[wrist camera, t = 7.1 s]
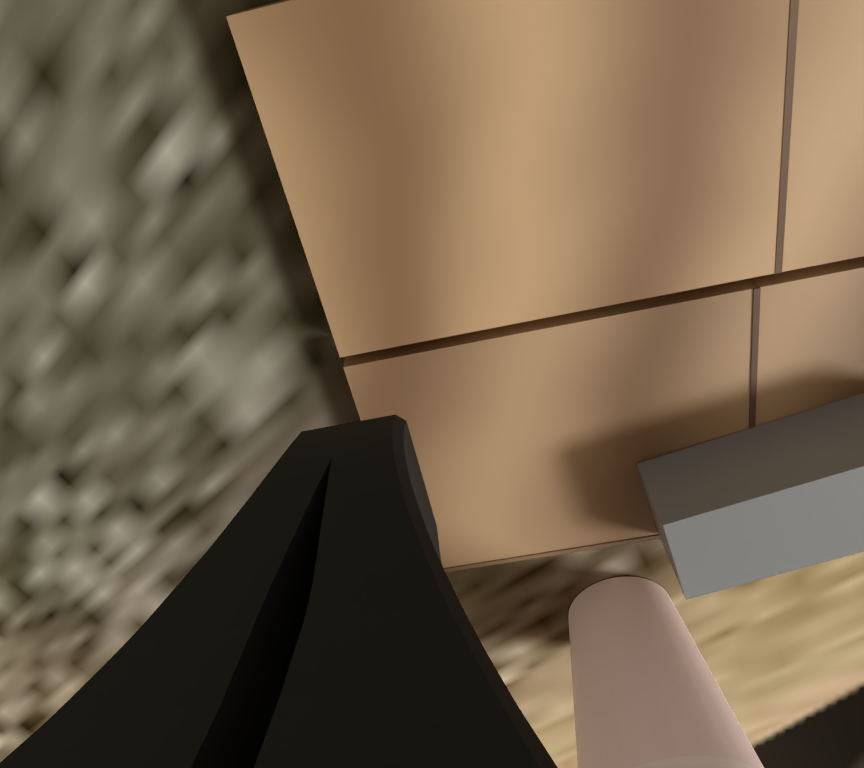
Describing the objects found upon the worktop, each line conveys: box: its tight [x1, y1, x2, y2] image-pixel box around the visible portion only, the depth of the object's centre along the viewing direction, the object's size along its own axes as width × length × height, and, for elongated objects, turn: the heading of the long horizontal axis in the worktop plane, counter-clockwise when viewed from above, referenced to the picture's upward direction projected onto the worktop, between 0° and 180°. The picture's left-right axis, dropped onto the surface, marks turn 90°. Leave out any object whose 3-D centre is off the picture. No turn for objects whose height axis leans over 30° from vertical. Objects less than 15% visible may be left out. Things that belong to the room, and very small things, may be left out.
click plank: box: [226, 0, 864, 357], centre depth 15 cm, size 16×8×1 cm, turn 102°
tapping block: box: [637, 393, 864, 600], centre depth 19 cm, size 7×3×2 cm, turn 112°
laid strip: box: [343, 256, 864, 573], centre depth 20 cm, size 16×8×1 cm, turn 102°
